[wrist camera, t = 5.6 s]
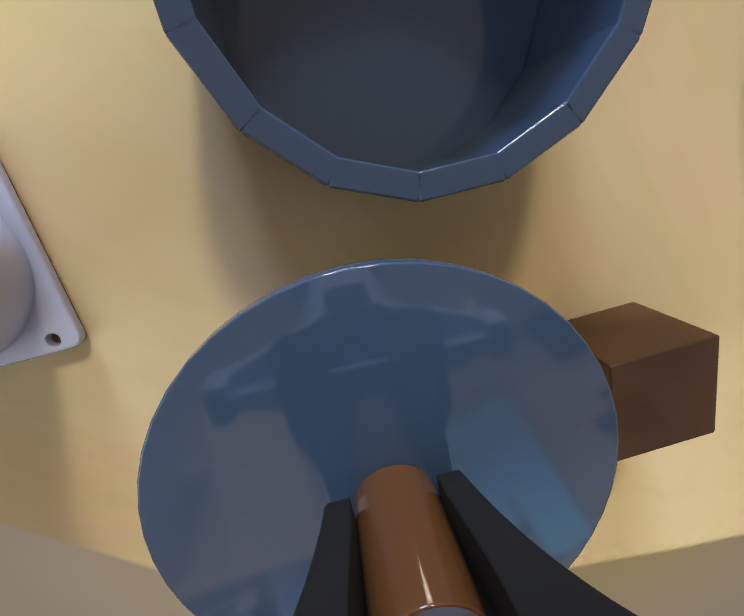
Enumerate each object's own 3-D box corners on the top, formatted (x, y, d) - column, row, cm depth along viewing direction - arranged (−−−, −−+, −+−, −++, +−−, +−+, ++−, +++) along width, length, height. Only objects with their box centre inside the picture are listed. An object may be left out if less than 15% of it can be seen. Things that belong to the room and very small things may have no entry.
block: (553, 405, 21) (614, 463, 17) (546, 325, 19) (610, 366, 15) (635, 381, 21) (715, 432, 17) (634, 301, 20) (720, 334, 15)
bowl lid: (233, 677, 15) (194, 927, 10) (68, 318, 10) (-149, 447, 5) (598, 574, 16) (727, 753, 11) (591, 205, 11) (805, 228, 6)
